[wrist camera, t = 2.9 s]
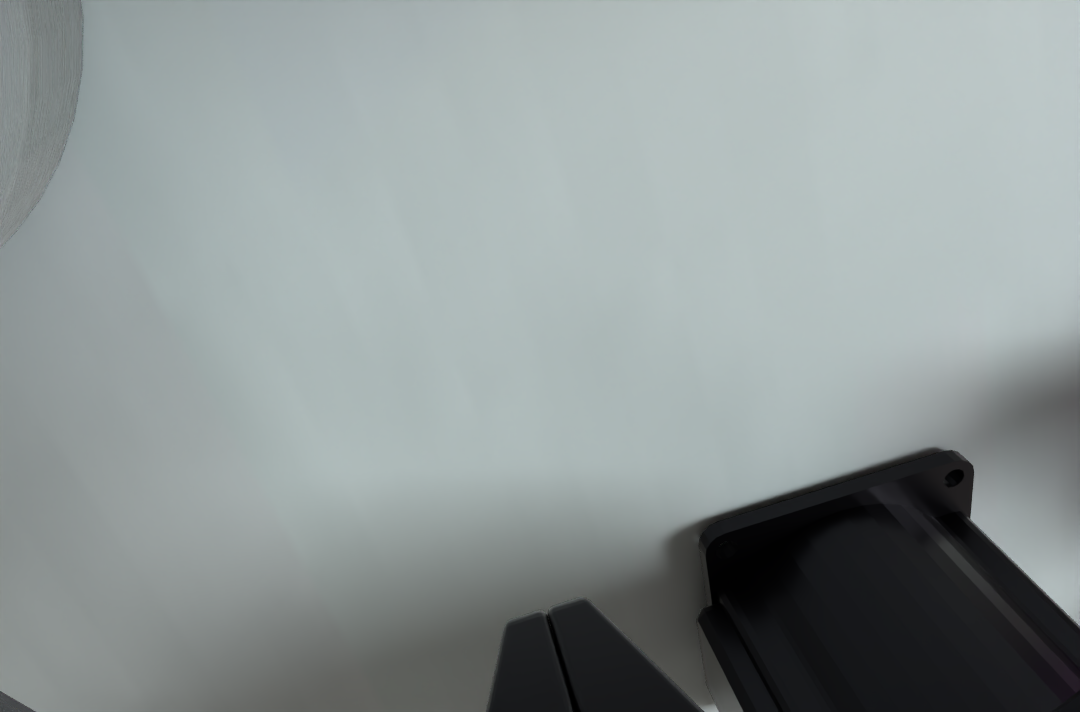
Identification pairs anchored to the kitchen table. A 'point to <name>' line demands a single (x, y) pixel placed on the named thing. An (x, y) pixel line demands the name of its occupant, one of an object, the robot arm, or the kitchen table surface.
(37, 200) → the pot
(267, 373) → the kitchen table surface
